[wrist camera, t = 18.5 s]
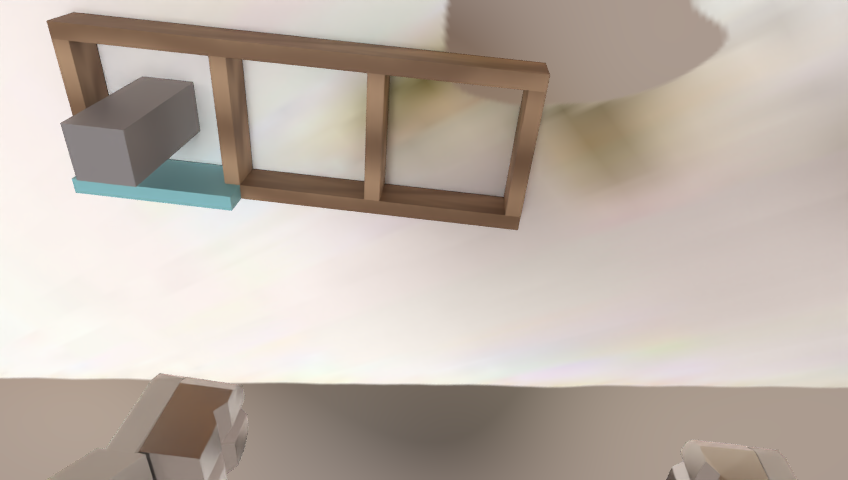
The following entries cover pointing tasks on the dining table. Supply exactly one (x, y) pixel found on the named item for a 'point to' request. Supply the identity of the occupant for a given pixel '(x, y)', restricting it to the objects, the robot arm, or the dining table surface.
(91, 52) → the rack
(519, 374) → the dining table surface
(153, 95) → the tall grey block
